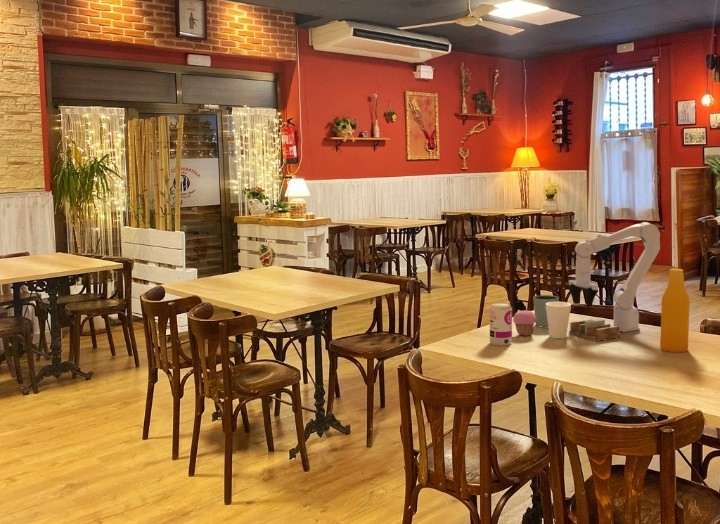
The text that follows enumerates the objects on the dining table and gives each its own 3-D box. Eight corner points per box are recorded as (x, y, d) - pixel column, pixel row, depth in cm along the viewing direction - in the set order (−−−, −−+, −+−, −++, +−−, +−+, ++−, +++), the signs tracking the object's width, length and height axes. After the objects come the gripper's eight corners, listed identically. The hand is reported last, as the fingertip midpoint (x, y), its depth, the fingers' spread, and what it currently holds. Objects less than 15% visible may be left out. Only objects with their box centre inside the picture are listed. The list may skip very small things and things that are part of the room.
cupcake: (539, 334, 286) (540, 309, 285) (529, 338, 280) (529, 313, 278) (519, 331, 292) (519, 307, 291) (509, 335, 286) (509, 310, 284)
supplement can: (515, 342, 274) (516, 304, 272) (504, 347, 268) (504, 307, 266) (497, 339, 279) (497, 301, 277) (485, 344, 274) (485, 305, 271)
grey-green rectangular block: (600, 331, 285) (600, 318, 284) (604, 332, 282) (604, 319, 282) (584, 333, 281) (584, 321, 280) (589, 335, 279) (589, 322, 278)
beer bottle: (655, 350, 259) (658, 270, 255) (665, 344, 265) (668, 266, 261) (682, 354, 252) (685, 272, 248) (691, 348, 259) (694, 268, 255)
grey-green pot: (560, 327, 297) (561, 299, 295) (536, 328, 297) (536, 299, 295) (554, 322, 307) (554, 294, 305) (530, 322, 307) (530, 295, 305)
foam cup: (568, 333, 286) (568, 301, 284) (572, 339, 277) (573, 306, 275) (543, 334, 287) (543, 301, 285) (547, 339, 278) (547, 306, 276)
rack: (592, 330, 291) (592, 319, 291) (620, 337, 278) (620, 326, 277) (568, 333, 286) (569, 322, 286) (596, 341, 273) (596, 330, 272)
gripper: (563, 270, 295) (562, 303, 297) (588, 275, 282) (587, 309, 284) (576, 269, 298) (575, 301, 300) (602, 273, 285) (601, 307, 287)
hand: (582, 305), depth 292 cm, fingers open, 7 cm apart
